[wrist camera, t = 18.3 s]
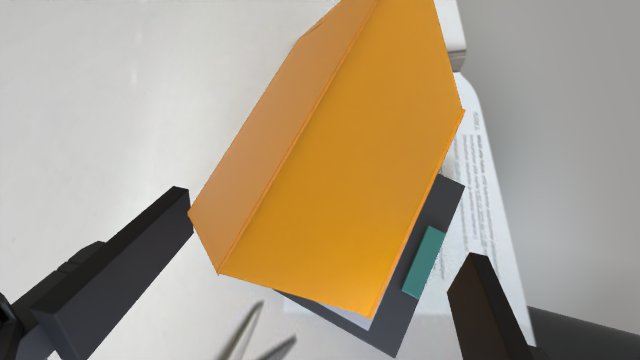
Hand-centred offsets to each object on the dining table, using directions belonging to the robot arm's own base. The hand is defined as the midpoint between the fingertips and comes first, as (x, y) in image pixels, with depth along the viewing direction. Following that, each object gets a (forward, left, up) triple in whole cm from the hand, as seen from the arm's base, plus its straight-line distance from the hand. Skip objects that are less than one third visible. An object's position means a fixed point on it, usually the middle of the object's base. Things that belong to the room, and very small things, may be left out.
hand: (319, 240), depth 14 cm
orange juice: (+1, -3, -11) cm, 12 cm away
